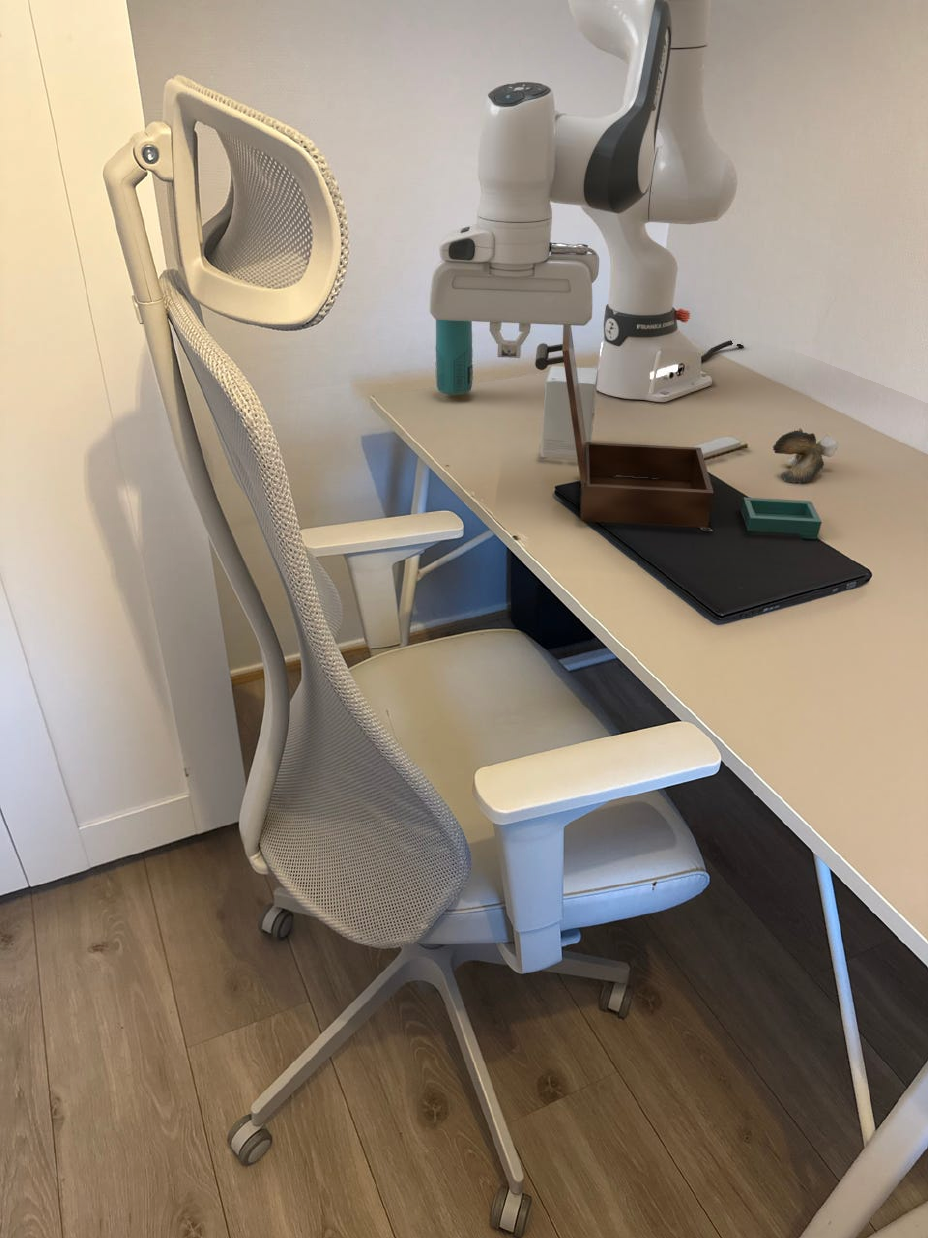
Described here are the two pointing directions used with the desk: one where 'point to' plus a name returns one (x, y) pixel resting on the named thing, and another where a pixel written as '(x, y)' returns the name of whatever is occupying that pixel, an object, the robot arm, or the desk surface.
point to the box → (646, 485)
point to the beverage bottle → (454, 356)
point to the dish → (781, 516)
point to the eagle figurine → (804, 454)
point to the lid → (573, 390)
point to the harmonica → (720, 447)
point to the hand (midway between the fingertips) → (509, 356)
